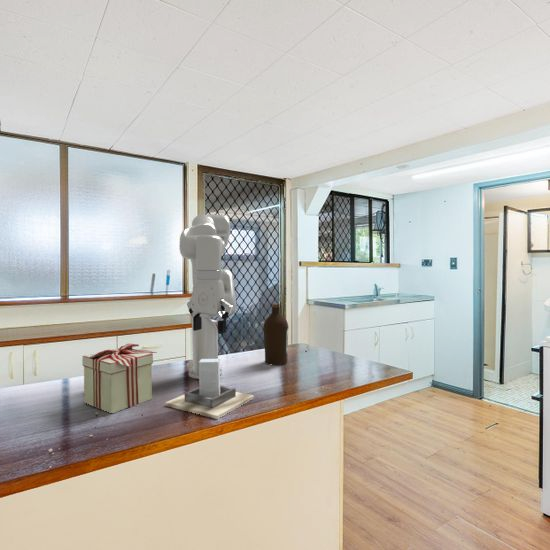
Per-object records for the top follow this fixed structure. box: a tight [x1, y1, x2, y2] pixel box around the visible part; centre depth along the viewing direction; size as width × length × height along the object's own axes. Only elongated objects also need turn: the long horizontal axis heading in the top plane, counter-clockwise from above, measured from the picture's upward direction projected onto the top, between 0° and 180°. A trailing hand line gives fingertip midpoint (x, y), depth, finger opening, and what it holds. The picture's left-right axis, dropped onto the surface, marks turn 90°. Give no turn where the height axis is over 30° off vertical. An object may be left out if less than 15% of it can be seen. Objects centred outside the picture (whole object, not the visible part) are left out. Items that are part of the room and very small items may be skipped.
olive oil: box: [263, 303, 289, 366], centre depth 163 cm, size 11×11×25 cm
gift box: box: [81, 343, 157, 414], centre depth 119 cm, size 17×18×17 cm
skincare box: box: [198, 358, 221, 398], centre depth 119 cm, size 6×4×12 cm
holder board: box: [165, 385, 255, 420], centre depth 118 cm, size 20×18×4 cm
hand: (209, 331), depth 118 cm, fingers open, 9 cm apart
